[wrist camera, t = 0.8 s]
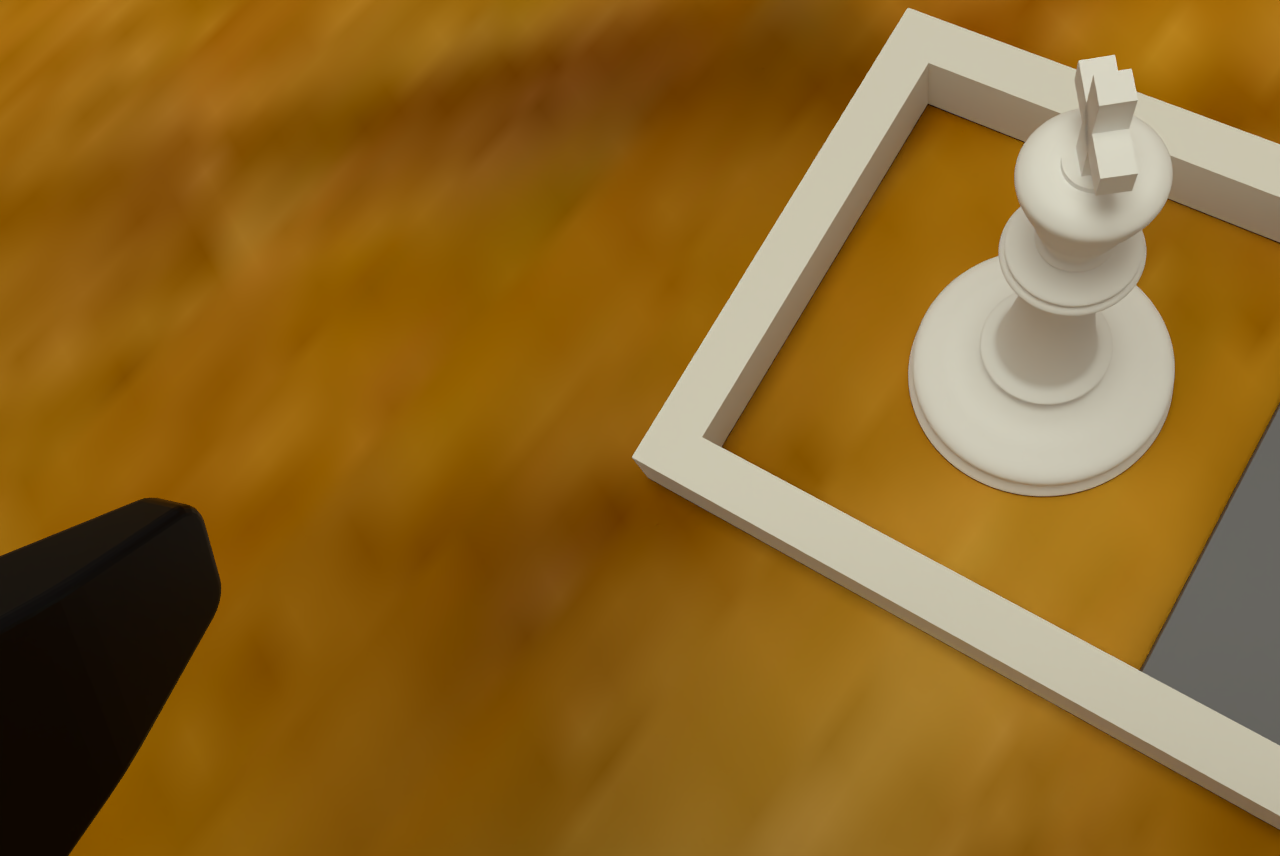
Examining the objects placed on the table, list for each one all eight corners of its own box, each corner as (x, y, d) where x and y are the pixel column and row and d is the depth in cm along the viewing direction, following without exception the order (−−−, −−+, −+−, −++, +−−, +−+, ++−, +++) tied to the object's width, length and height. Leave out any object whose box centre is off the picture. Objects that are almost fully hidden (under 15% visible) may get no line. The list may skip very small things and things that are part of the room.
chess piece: (1148, 244, 24) (1295, -121, 15) (1194, 484, 22) (1391, 246, 13) (895, 277, 25) (882, -47, 16) (923, 508, 23) (927, 303, 14)
